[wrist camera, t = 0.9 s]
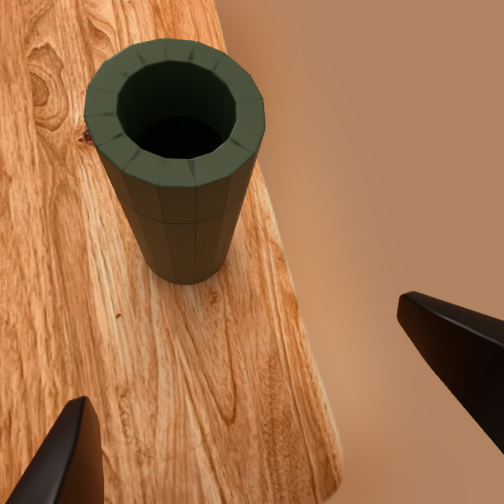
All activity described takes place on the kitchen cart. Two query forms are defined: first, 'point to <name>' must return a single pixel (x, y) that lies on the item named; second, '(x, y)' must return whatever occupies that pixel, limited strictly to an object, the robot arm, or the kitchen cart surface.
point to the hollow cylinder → (177, 149)
